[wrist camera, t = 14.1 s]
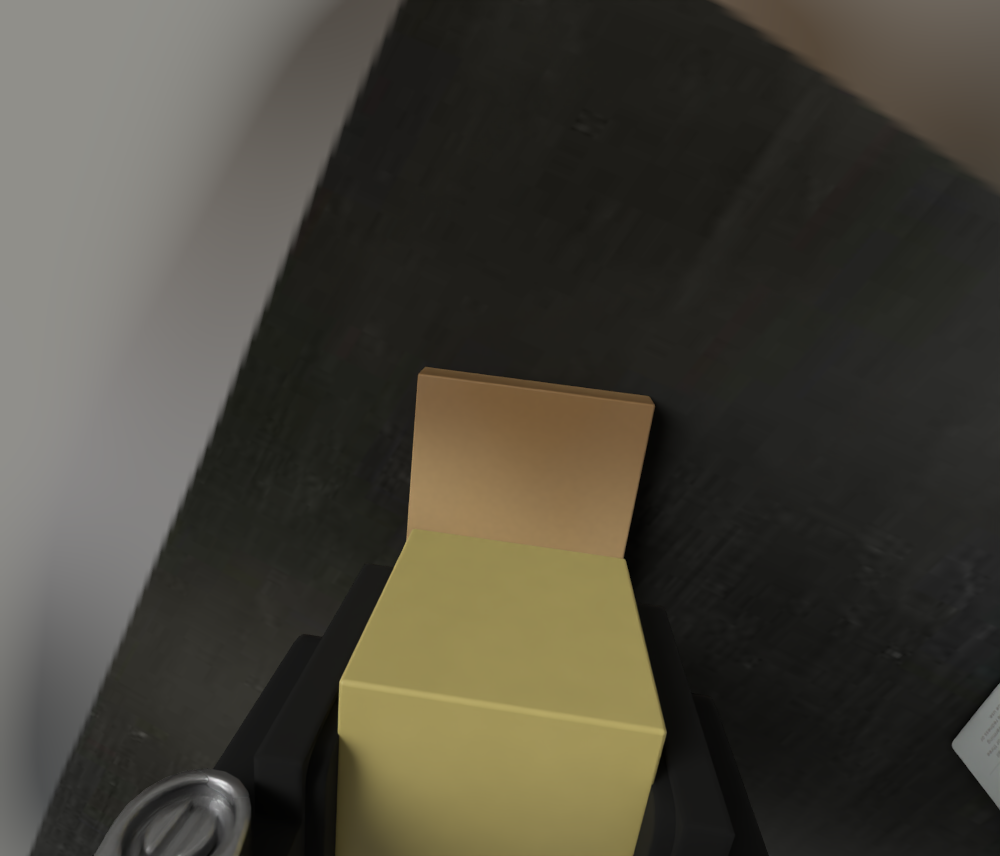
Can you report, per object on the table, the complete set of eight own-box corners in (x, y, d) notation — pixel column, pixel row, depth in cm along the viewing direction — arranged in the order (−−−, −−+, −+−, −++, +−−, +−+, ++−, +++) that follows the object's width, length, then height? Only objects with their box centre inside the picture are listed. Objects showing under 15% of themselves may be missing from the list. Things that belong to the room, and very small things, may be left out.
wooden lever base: (424, 366, 18) (289, 504, 9) (650, 395, 18) (759, 571, 8) (393, 794, 24) (292, 1150, 14) (563, 822, 23) (570, 1205, 14)
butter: (582, 769, 11) (596, 1007, 7) (395, 740, 11) (328, 959, 8) (627, 557, 9) (669, 732, 6) (412, 526, 9) (337, 680, 6)
